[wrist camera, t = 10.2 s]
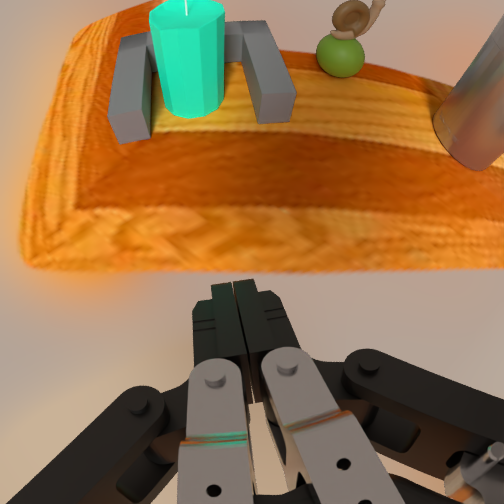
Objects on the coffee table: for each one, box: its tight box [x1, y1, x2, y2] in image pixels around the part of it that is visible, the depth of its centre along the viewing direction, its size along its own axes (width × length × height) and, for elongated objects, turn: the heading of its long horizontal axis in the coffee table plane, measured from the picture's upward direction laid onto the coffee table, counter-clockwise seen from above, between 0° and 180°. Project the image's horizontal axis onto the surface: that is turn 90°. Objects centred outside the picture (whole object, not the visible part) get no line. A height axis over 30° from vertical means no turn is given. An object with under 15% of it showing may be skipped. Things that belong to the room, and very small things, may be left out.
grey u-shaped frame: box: [107, 21, 296, 144], centre depth 27 cm, size 16×13×4 cm
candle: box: [149, 0, 225, 119], centre depth 23 cm, size 6×6×12 cm
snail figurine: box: [316, 0, 386, 78], centre depth 26 cm, size 5×6×12 cm
